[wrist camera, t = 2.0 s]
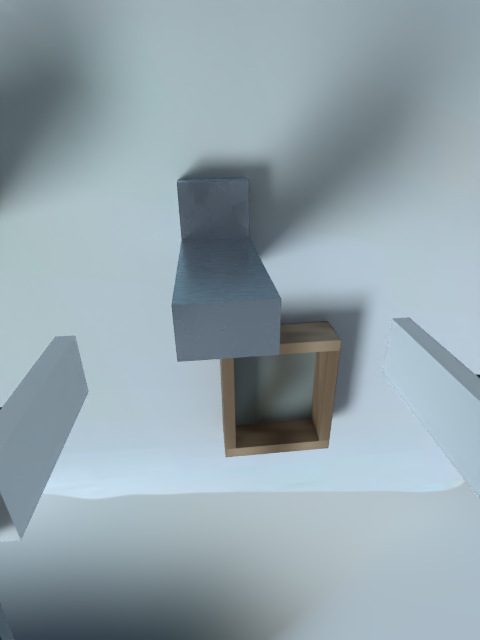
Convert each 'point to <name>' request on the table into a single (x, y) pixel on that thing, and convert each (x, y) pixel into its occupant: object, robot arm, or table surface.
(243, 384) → the wooden frame
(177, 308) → the bracket
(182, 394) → the table surface
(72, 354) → the robot arm
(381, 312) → the table surface
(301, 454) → the table surface
